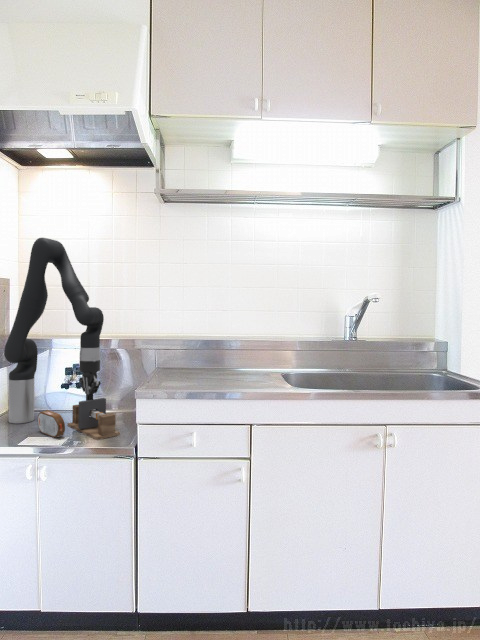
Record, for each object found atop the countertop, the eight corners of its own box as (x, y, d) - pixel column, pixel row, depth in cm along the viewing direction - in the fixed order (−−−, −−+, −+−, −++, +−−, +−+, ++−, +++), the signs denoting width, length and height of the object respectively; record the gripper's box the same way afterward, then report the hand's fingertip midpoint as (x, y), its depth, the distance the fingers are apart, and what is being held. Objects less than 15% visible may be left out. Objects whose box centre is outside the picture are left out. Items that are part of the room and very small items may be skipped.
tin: (65, 438, 150) (66, 414, 150) (57, 440, 148) (57, 416, 148) (43, 430, 159) (44, 408, 159) (35, 432, 157) (35, 409, 157)
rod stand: (67, 425, 165) (67, 406, 165) (89, 421, 172) (89, 402, 172) (96, 440, 149) (97, 418, 148) (119, 434, 155) (120, 413, 155)
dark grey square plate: (78, 428, 158) (78, 401, 157) (103, 423, 165) (103, 397, 164) (80, 429, 156) (81, 402, 156) (105, 424, 163) (106, 398, 163)
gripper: (72, 358, 164) (72, 402, 164) (88, 361, 154) (88, 408, 155) (90, 356, 169) (90, 399, 170) (107, 359, 160) (107, 405, 160)
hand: (89, 403), depth 162 cm, fingers closed
